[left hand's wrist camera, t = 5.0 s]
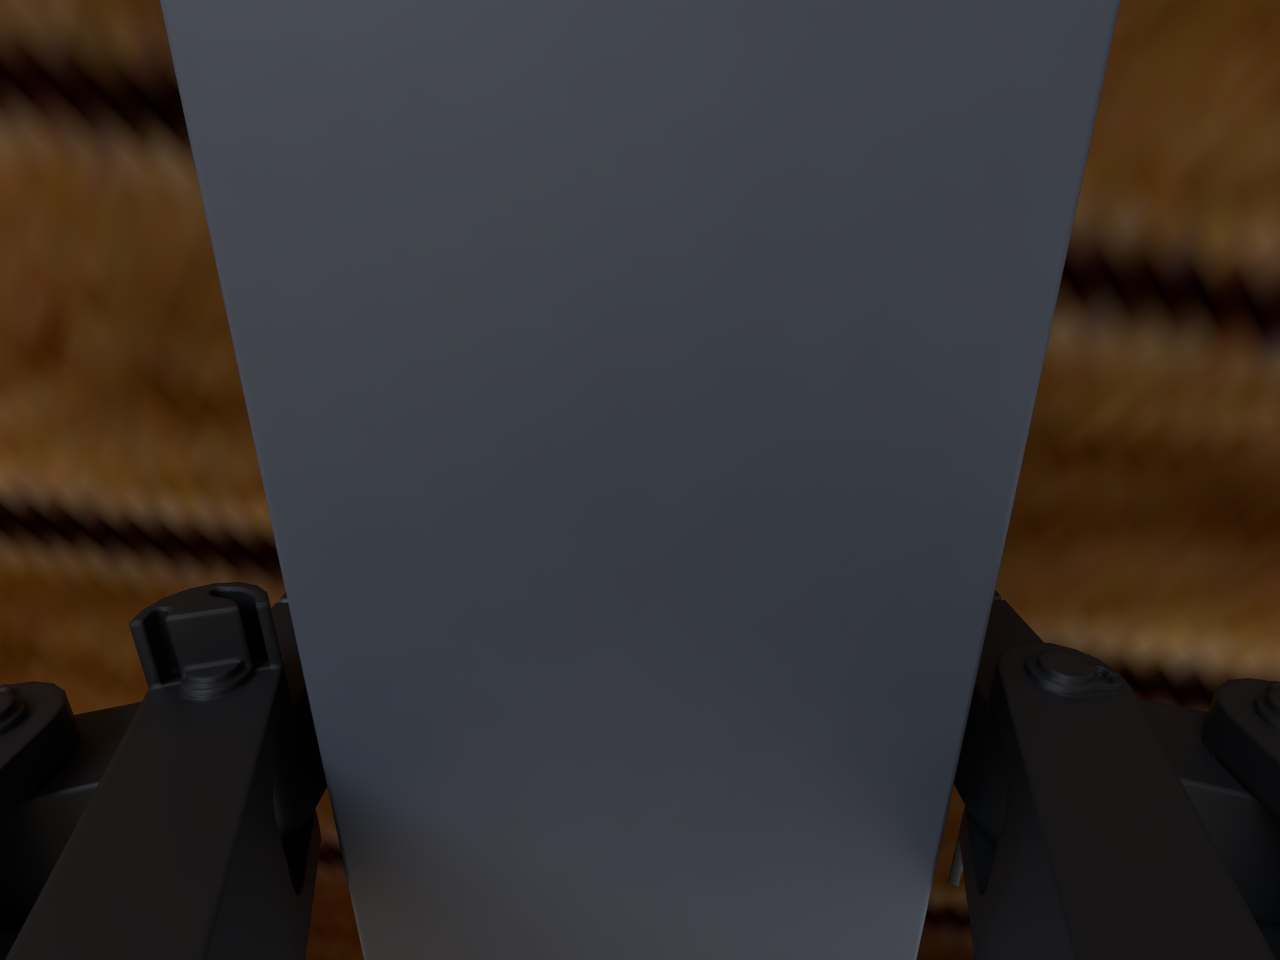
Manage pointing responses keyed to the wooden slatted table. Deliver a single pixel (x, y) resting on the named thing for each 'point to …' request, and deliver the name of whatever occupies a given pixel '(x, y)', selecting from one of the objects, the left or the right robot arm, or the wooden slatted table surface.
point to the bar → (640, 436)
